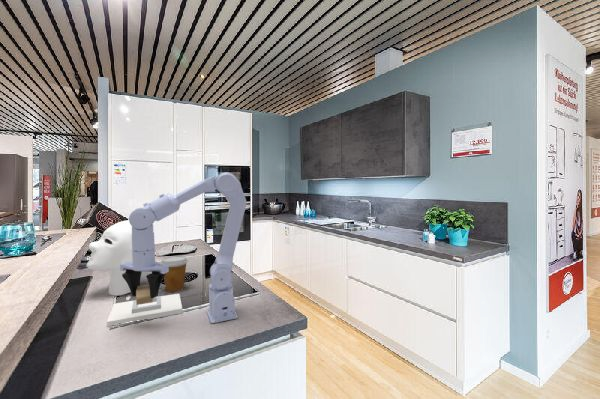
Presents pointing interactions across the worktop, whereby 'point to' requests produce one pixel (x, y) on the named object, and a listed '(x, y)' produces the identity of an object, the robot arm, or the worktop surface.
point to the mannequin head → (113, 255)
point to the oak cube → (143, 295)
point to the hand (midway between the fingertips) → (145, 296)
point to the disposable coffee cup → (175, 272)
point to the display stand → (145, 309)
